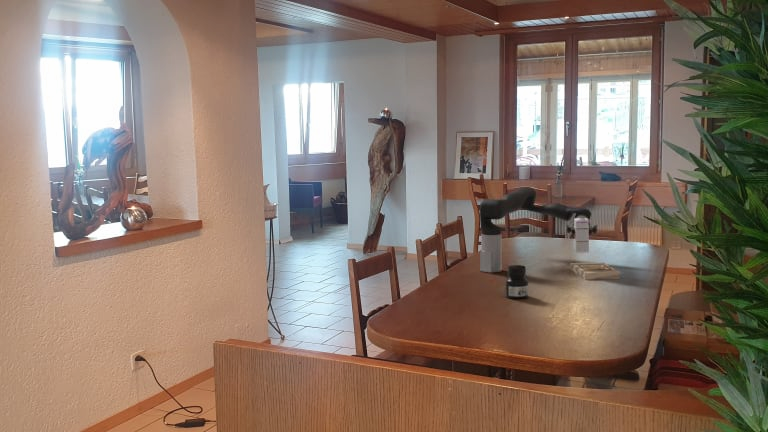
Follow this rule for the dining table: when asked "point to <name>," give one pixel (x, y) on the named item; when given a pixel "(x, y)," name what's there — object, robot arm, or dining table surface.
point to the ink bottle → (516, 282)
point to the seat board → (594, 271)
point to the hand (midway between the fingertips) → (581, 232)
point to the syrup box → (581, 235)
